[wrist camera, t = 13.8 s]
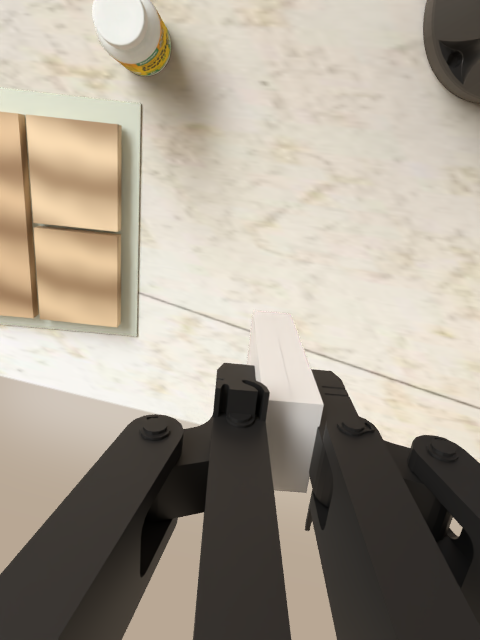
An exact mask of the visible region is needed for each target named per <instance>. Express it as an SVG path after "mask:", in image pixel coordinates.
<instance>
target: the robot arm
mask: <svg viewBox="0 0 480 640" xmlns="http://www.w3.org/2000/svg"><path fill="white" fill-rule="evenodd" d="M423 35H424V44H425V50H426V54H427V57H428V60H429V63H430V65H431V67H432V70H433V71H434V73H435V75H436V76H437V78H438V79H439V81H440V82H441V83H442V84H443V85H444V86H445V87H446V88H447V89H448V90H449V91H450V92H452V93H453V94H455V95H456V96H458V97H460V98H462V99H464V100H467V101H470V102H474V103H480V0H427V2H426V7H425V13H424V23H423ZM348 396H349V395H348V393H347V391H346V390H345V387H344V385H343V382H342V380H341V379H340V378H339V377H338V376H336V375H335V374H334V373H333V372H332V371H324V370H312V369H311V368H310V365H309V362H308V359H307V356H306V354H305V351H304V348H303V345H302V342H301V340H300V337H299V334H298V331H297V328H296V326H295V323H294V320H293V317H292V314H289V313H278V312H267V311H257V310H253V315H252V323H251V332H250V340H249V349H248V357H247V365H242V364H231V363H224V364H223V365H222V366H221V367H220V368H219V369H218V370H217V378H216V389H215V400H214V411H213V415H212V417H211V419H210V420H209V421H208V422H206V423H205V424H203V425H200V426H198V427H194V428H189V429H183V428H182V425H181V424H180V423H179V422H178V421H177V420H176V419H174V418H171V417H169V416H166V415H156V414H155V415H146V416H143V417H140V418H137V419H135V420H134V421H132V422H131V423H130V424H129V425H128V426H127V427H126V428H125V429H124V431H123V432H122V433H121V434H120V435H119V436H118V437H117V439H116V440H115V441H114V442H113V443H112V444H111V446H110V447H109V448H108V449H107V450H106V451H105V453H104V454H103V455H102V456H101V457H100V458H99V460H98V461H97V462H96V463H95V464H94V466H93V467H92V468H91V469H90V470H89V471H88V473H87V474H86V475H85V476H84V477H83V478H82V480H81V481H80V482H79V483H78V484H77V485H76V487H75V488H74V489H73V490H72V491H71V493H70V494H69V495H68V496H67V497H66V498H65V499H64V501H63V502H62V503H61V504H60V505H59V506H58V508H57V509H56V510H55V511H54V512H53V514H52V515H51V516H50V517H49V518H48V519H47V520H46V522H45V523H44V524H43V525H42V527H41V528H40V529H39V530H38V531H37V532H36V533H35V535H34V536H33V537H32V538H31V539H30V540H29V542H28V543H27V544H26V545H25V546H24V547H23V549H22V550H21V551H20V552H19V553H18V554H17V556H16V557H15V558H14V559H13V560H12V561H11V563H10V564H9V565H8V566H7V567H6V569H5V570H4V571H3V572H2V573H1V574H0V640H122V638H123V635H124V633H125V632H126V629H127V627H128V625H129V623H130V621H131V619H132V617H133V615H134V613H135V610H136V608H137V606H138V604H139V602H140V600H141V598H142V596H143V594H144V592H145V589H146V587H147V585H148V583H149V581H150V579H151V577H152V574H153V573H154V570H155V568H156V566H157V564H158V562H159V560H160V558H161V556H162V554H163V552H164V549H165V547H166V545H167V543H168V541H169V539H170V537H171V535H172V533H173V531H174V528H175V526H176V524H177V519H178V517H183V516H187V515H192V514H197V513H202V512H204V522H203V533H202V544H201V555H200V567H199V579H198V590H197V601H196V612H195V623H194V636H193V640H291V634H290V625H289V618H288V609H287V600H286V591H285V583H284V574H283V566H282V557H281V549H280V540H279V531H278V522H277V515H276V506H275V497H274V490H277V491H290V492H304V493H306V492H307V486H308V482H309V477H310V480H311V484H312V488H313V489H312V494H311V499H310V504H309V509H308V514H307V519H306V526H305V530H306V531H307V530H308V531H309V530H310V526H311V522H312V521H313V525H314V530H315V535H316V540H317V545H318V549H319V554H320V559H321V564H322V569H323V573H324V578H325V583H326V588H327V593H328V598H329V602H330V607H331V612H332V617H333V622H334V626H335V631H336V636H337V640H480V463H479V462H477V461H476V460H475V459H474V458H473V457H472V456H471V455H470V454H469V453H467V452H466V451H465V450H464V449H462V448H461V447H460V446H458V445H457V444H455V443H453V442H451V441H449V440H447V439H445V438H442V437H439V436H431V435H423V436H419V437H416V438H415V439H414V440H413V442H412V446H411V448H407V447H404V446H400V445H397V444H393V443H390V442H387V441H384V440H383V439H382V437H381V435H380V433H379V431H378V430H377V428H376V427H375V426H374V425H373V424H372V423H370V422H369V421H367V420H366V419H364V418H361V417H359V416H358V414H357V412H356V410H355V408H354V406H353V403H352V401H351V399H350V397H348ZM453 517H454V518H455V519H456V521H457V522H458V523H459V524H460V525H461V526H462V527H463V529H462V532H461V534H460V536H459V537H458V536H456V535H455V534H454V533H453V532H452V531H451V529H450V528H449V526H450V523H451V520H452V518H453Z"/></svg>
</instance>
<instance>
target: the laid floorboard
mask: <svg viewBox="0 0 480 640" xmlns="http://www.w3.org/2000/svg"><path fill="white" fill-rule="evenodd" d="M38 314H39V312H38V298H37V283H36V269H35V255H34V240H33V226H32V212H31V198H30V183H29V169H28V155H27V140H26V126H25V115H23V114H18V113H9V112H0V315H2V316H13V317H24V318H34V317H36V316H37V315H38Z"/></svg>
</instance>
